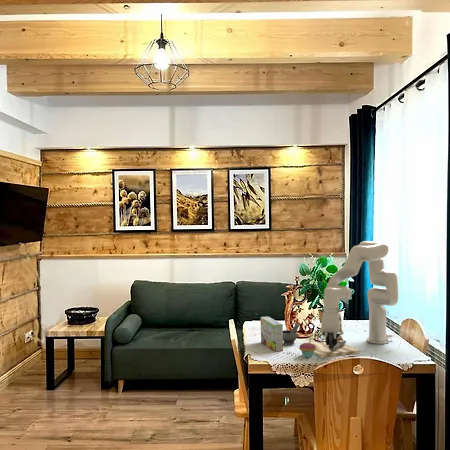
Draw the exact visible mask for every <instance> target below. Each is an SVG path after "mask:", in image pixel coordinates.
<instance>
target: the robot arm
mask: <svg viewBox="0 0 450 450" xmlns="http://www.w3.org/2000/svg"><path fill="white" fill-rule="evenodd" d="M388 254H389V246H388V244H387V243H386V242H384V241H373V240H371V241H370V240H363V241H361V242H360V243H359V244H358V245H353V247H351V249H350V251H349V253H348V256H347V258H346V260H345V262H344V264H343V266H342V268H340V269H338V270H337V271H336V272H335V273H334V274H332V276H331V277H330V278H329V280H328V282H327V284H326V287H325V288H324V294H323V295H324V296H323V300H324V301H323V303H324V305H323V307H324V308H323V313H322V316H321V327H320V328H319V332H320V334H322V335H323V336H324V338H325V342H326V345H328V333H329V332H331V333H334V339H333V346H336V345H337V338H338V337H339V336H342V335H344V331H343V326H342V325H343V324H342V323H343V322H342V316H341V312H342V309H340V307H339V306H340V303H339V302H340V301H348V300H350V299H351V297H352V295H353V293H352V292H353V291H352V290H351V288H350V287H348V286H345V285H339V284H340V283H342V282H343V281H344V280H347V279H350V278H352V277H355V276H357V275H358V274H359V273H360V269H361V267H362V264H363V262H367V263H368V264H367V265H368V279H369V282H370V284H371V285H373V286H374V287H371V288H369V289H368V290H367V301H368V312H369V314H368V337H366V342H368V343H370V344H375V345H385V344H388V343H389V342H390V340H389V338H393V337H394V335H393V333H390V334H388V333H387V309H386V308H385V306H387V307H388V306H389V307H390V306H391V307H393V306H395V305H397V304H398V300H399V284H398V276H397V274H396V272H395V271H393V270H391V269H385V264H384V259H383V258H384V257H386V256H387V255H388Z"/></svg>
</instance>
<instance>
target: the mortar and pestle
mask: <svg viewBox="0 0 450 450" xmlns="http://www.w3.org/2000/svg"><path fill="white" fill-rule="evenodd" d="M300 326H301V325H300V324H299V323H297V322H296V323H295V324H294V326H293V328H292V329H288V330H287V329H285V330H283V346H295V341H296V340H297V338H298V329H299V327H300Z"/></svg>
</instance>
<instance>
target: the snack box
mask: <svg viewBox="0 0 450 450" xmlns="http://www.w3.org/2000/svg"><path fill="white" fill-rule="evenodd" d="M259 318H260V342H261V343H262V344H263V345H265V346H266V347H268V348H269V349H271V351H273V352H275V353H276V352H283V351H284V344H283V342H284V341H283V331H284V330H283V327H284V324H283V323H281V322H279V321H278V320H275V319H274V318H272V317H271V316H260V317H259Z"/></svg>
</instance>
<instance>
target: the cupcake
mask: <svg viewBox="0 0 450 450" xmlns="http://www.w3.org/2000/svg"><path fill="white" fill-rule="evenodd" d="M311 341H312V334H310V336H309V340H308V341H307V342H303V343H301V344H299V348H298V349H299V350H300V351H301V353H302V356H303V357H304V358H312V357H313V355H314V354H313V352H314V351H315V350H316V347H315V345H313V344H312V343H311Z"/></svg>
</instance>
